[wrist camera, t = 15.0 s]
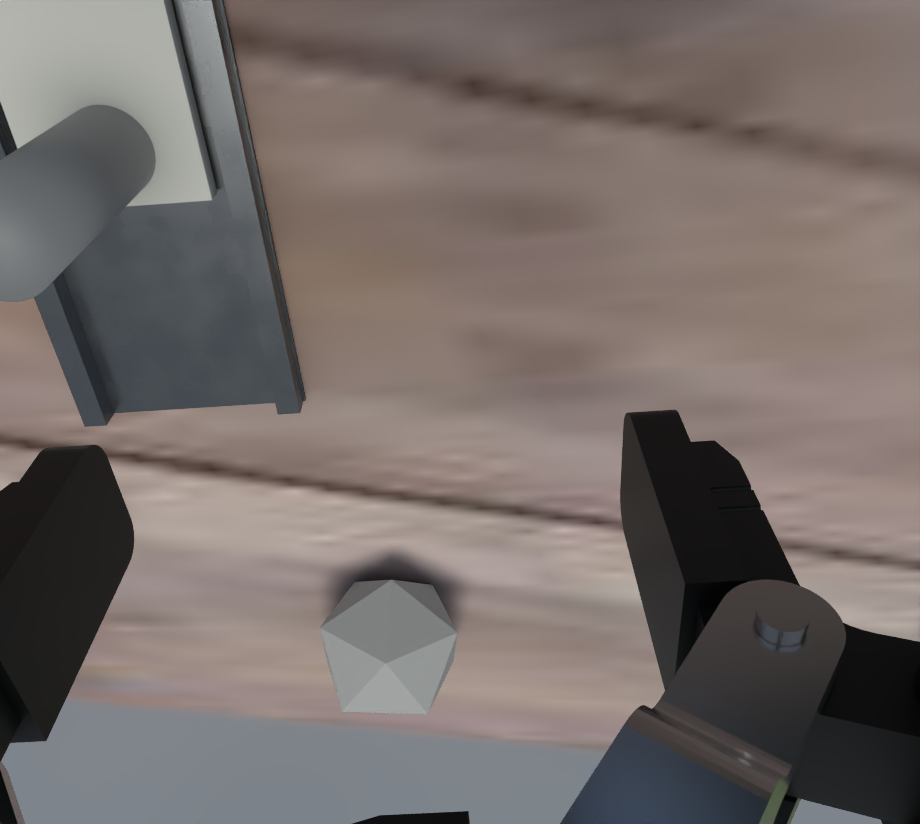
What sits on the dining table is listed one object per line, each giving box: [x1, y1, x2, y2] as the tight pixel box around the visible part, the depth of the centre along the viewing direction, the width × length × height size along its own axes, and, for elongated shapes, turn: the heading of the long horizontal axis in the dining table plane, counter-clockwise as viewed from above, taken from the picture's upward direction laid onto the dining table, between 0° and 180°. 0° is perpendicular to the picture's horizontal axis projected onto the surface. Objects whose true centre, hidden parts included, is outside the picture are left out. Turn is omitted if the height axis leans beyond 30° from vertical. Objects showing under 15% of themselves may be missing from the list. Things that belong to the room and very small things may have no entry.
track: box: [0, 0, 306, 427], centre depth 35 cm, size 34×12×1 cm, turn 4°
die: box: [320, 580, 457, 714], centre depth 51 cm, size 8×9×10 cm
